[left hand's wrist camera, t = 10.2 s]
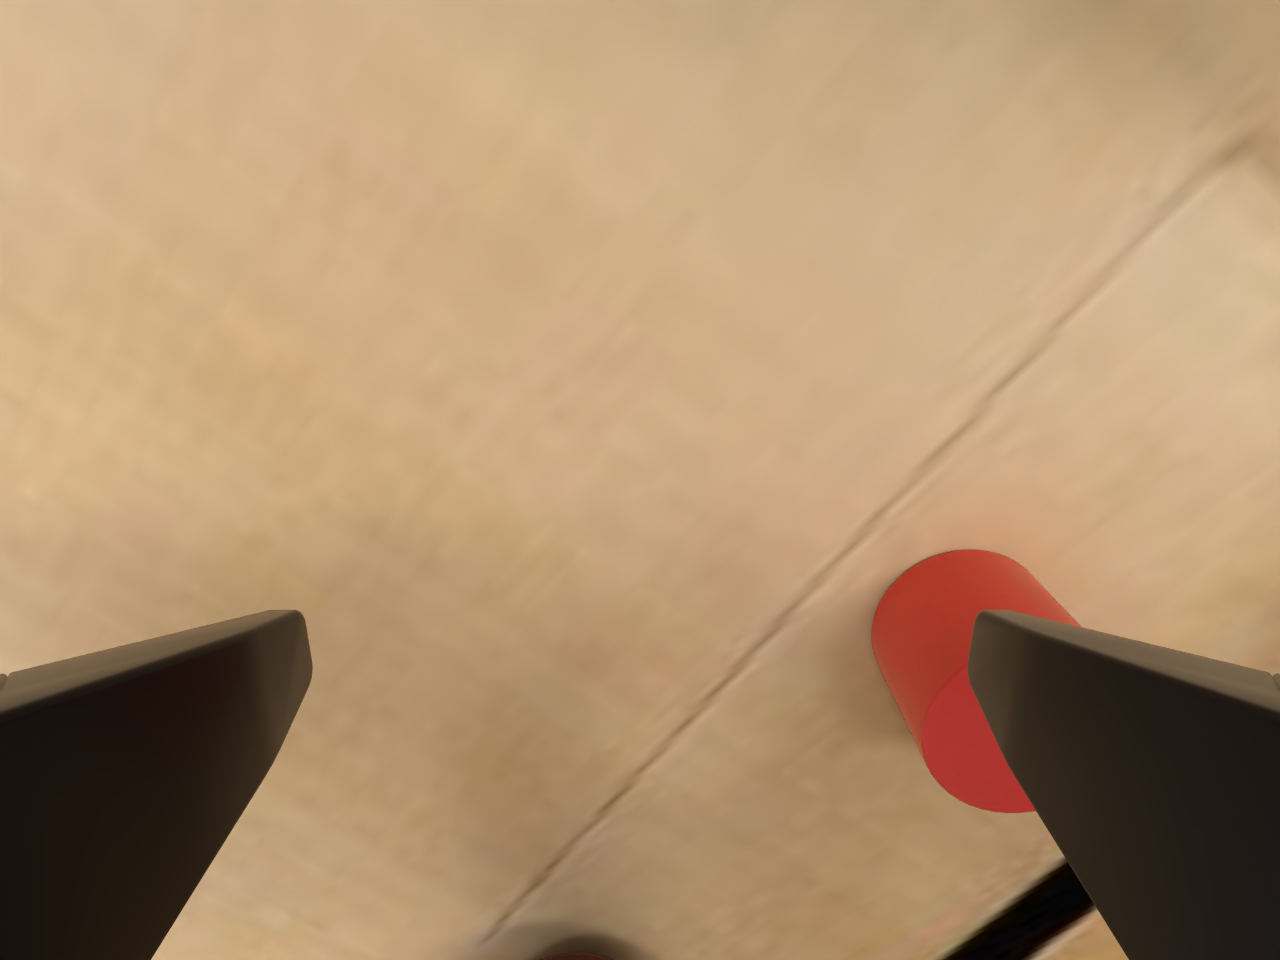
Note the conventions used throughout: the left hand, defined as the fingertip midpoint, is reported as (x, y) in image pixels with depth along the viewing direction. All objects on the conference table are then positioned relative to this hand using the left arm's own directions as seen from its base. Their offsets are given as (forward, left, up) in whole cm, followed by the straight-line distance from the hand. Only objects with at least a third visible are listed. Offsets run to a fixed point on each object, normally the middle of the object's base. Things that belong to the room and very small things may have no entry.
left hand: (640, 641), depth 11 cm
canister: (-10, +4, -11) cm, 16 cm away
